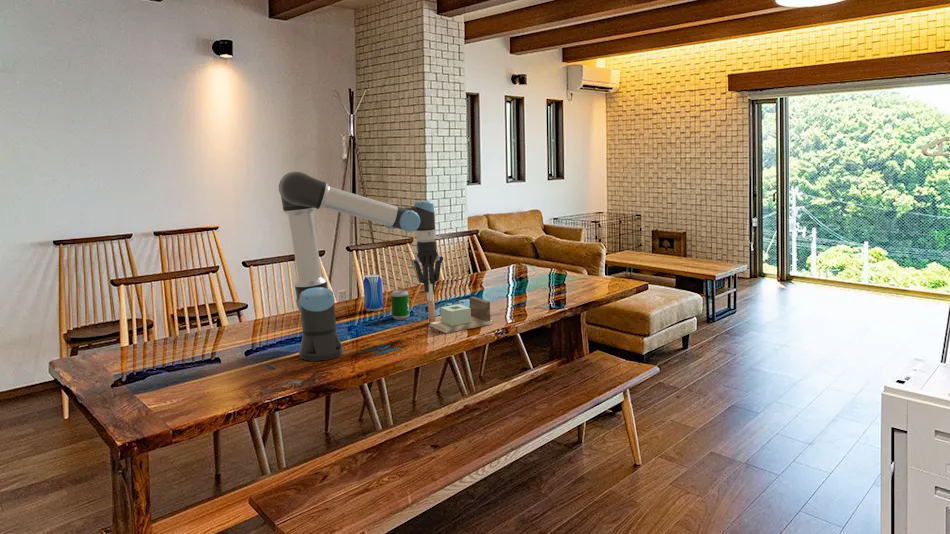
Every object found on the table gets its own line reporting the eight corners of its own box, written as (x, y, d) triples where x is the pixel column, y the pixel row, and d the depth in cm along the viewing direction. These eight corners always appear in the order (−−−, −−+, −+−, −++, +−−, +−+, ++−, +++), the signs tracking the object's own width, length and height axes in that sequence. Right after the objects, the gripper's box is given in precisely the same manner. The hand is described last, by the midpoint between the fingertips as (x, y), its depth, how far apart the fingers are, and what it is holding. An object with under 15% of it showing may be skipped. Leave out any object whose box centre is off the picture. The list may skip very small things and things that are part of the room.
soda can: (406, 320, 272) (405, 292, 270) (390, 320, 274) (388, 292, 272) (411, 316, 279) (410, 289, 277) (395, 315, 281) (394, 289, 279)
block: (451, 326, 253) (450, 311, 252) (441, 321, 261) (440, 307, 260) (471, 322, 258) (470, 308, 257) (460, 318, 265) (459, 304, 264)
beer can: (364, 308, 297) (361, 275, 294) (381, 307, 299) (379, 273, 297) (366, 312, 289) (364, 278, 286) (384, 310, 291) (382, 276, 289)
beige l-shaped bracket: (445, 333, 250) (444, 309, 248) (430, 326, 261) (429, 303, 259) (492, 324, 261) (491, 301, 259) (476, 317, 272) (475, 296, 270)
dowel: (430, 324, 265) (429, 295, 263) (427, 322, 267) (426, 294, 265) (436, 323, 266) (434, 294, 264) (433, 321, 268) (432, 293, 266)
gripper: (415, 243, 242) (419, 304, 246) (445, 239, 248) (449, 298, 252) (407, 241, 248) (411, 300, 252) (437, 238, 254) (440, 295, 258)
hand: (430, 299), depth 252 cm, fingers closed
